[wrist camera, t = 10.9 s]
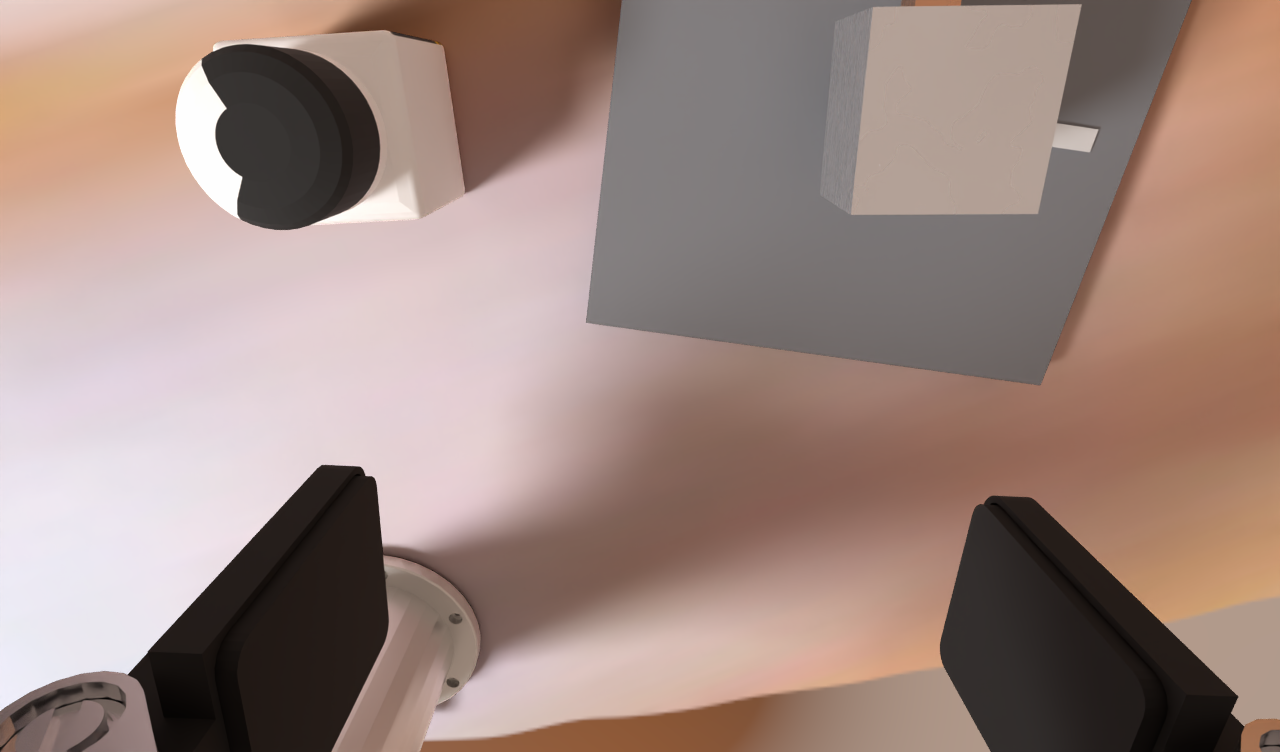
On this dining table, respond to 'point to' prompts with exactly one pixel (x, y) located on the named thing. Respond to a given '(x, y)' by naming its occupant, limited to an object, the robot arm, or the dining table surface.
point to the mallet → (945, 107)
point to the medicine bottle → (322, 129)
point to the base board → (818, 229)
